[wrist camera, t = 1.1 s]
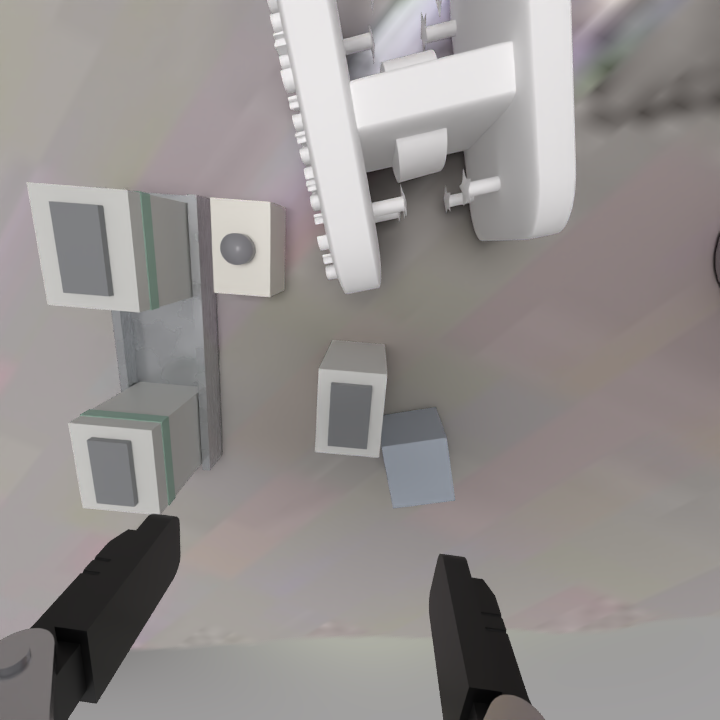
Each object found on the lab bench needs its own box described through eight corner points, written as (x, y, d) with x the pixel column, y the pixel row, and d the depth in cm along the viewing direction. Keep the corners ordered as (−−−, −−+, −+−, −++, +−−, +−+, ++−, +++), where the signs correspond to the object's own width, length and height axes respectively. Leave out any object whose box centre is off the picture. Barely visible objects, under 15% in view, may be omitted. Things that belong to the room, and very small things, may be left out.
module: (384, 344, 28) (387, 377, 21) (378, 410, 30) (378, 461, 23) (332, 339, 29) (317, 371, 21) (328, 406, 30) (314, 455, 23)
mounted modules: (195, 203, 25) (123, 187, 18) (208, 456, 31) (157, 520, 24) (119, 197, 25) (17, 179, 18) (146, 450, 31) (77, 512, 24)
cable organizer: (496, 249, 26) (585, 253, 15) (348, 278, 27) (328, 302, 16) (473, -15, 22) (572, -279, 11) (298, 32, 23) (224, -166, 12)
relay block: (435, 406, 30) (446, 437, 25) (443, 461, 31) (455, 500, 26) (380, 415, 30) (381, 446, 25) (391, 468, 32) (393, 508, 27)
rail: (212, 199, 26) (196, 194, 24) (222, 454, 32) (210, 470, 30) (121, 192, 26) (96, 187, 24) (147, 447, 32) (129, 463, 30)
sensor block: (286, 208, 26) (265, 200, 21) (285, 289, 28) (265, 299, 23) (234, 204, 26) (202, 195, 21) (236, 285, 28) (207, 294, 23)
